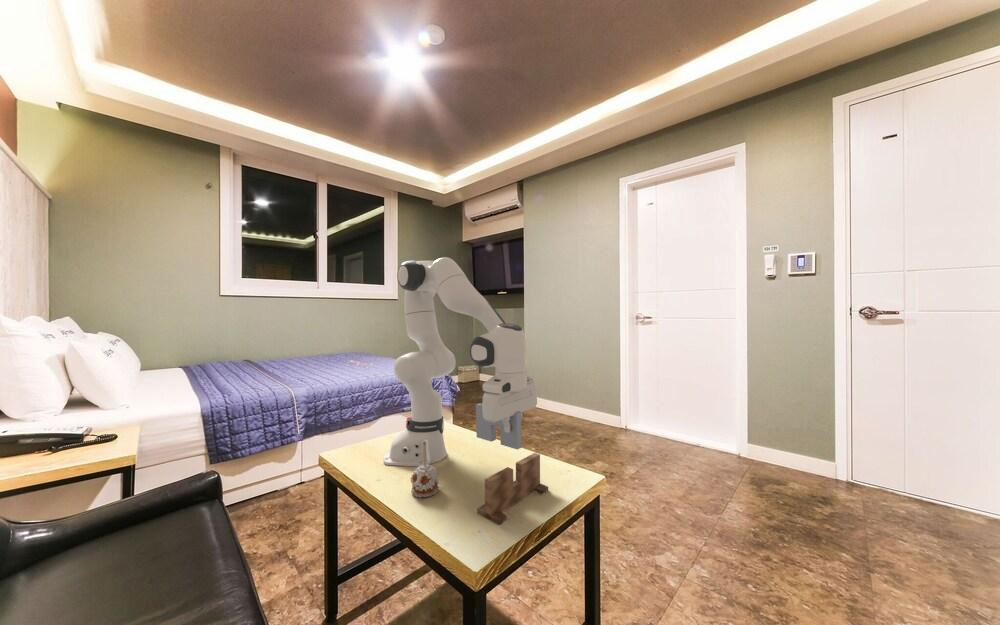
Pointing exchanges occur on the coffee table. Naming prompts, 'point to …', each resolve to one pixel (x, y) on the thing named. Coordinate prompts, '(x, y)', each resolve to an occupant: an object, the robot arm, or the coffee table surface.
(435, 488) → the decorative ornament
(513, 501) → the walnut crosspiece
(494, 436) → the grey plate
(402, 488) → the coffee table surface
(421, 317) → the robot arm
